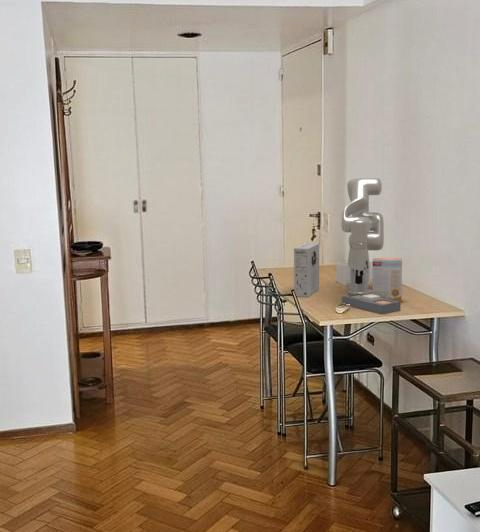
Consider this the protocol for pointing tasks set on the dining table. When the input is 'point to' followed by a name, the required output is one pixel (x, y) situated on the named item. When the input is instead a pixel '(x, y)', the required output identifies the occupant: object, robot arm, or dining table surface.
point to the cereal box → (306, 269)
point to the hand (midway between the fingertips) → (358, 283)
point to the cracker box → (387, 278)
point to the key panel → (372, 304)
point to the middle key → (370, 297)
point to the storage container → (344, 272)
